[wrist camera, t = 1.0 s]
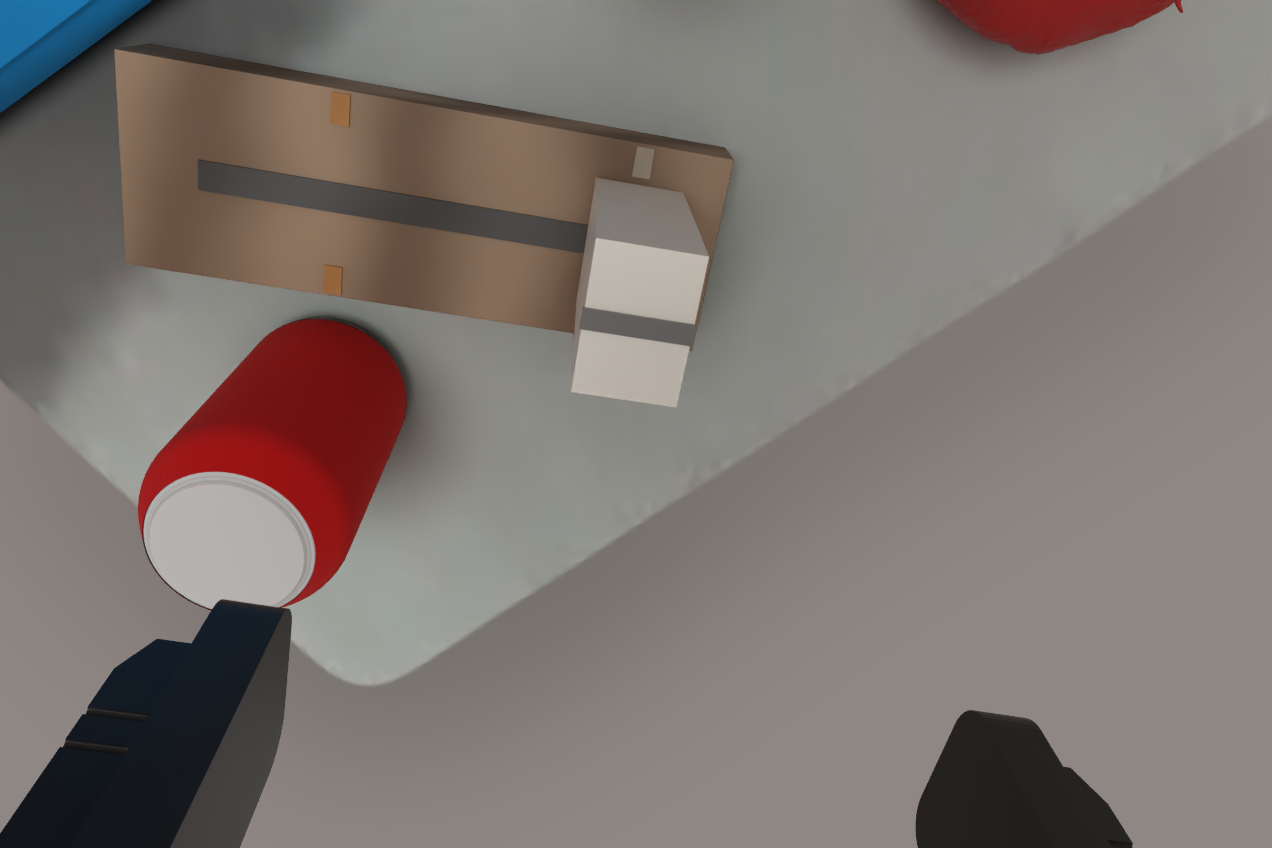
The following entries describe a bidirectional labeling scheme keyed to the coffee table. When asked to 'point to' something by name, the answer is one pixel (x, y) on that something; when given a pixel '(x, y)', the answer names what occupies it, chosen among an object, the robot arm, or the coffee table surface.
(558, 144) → the fader strip
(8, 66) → the book
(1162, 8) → the red crowned fruit
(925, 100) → the coffee table surface
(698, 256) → the fader knob
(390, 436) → the beverage can
